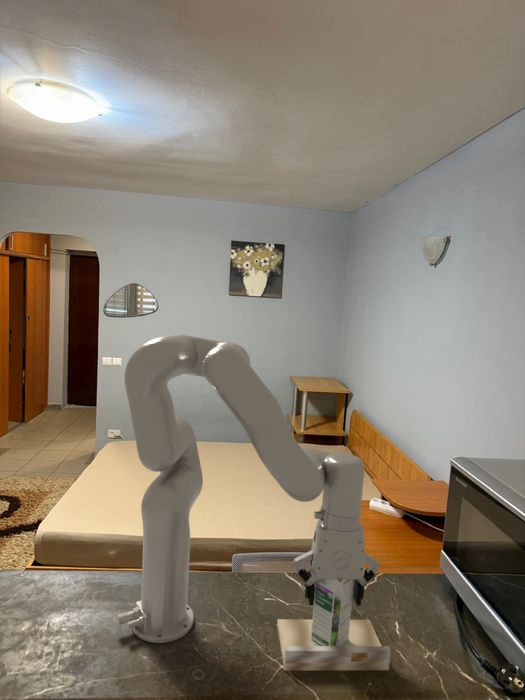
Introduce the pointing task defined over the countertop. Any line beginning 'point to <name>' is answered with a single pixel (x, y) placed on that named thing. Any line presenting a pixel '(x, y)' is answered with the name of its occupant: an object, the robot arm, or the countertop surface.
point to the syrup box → (332, 611)
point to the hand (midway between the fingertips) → (333, 601)
